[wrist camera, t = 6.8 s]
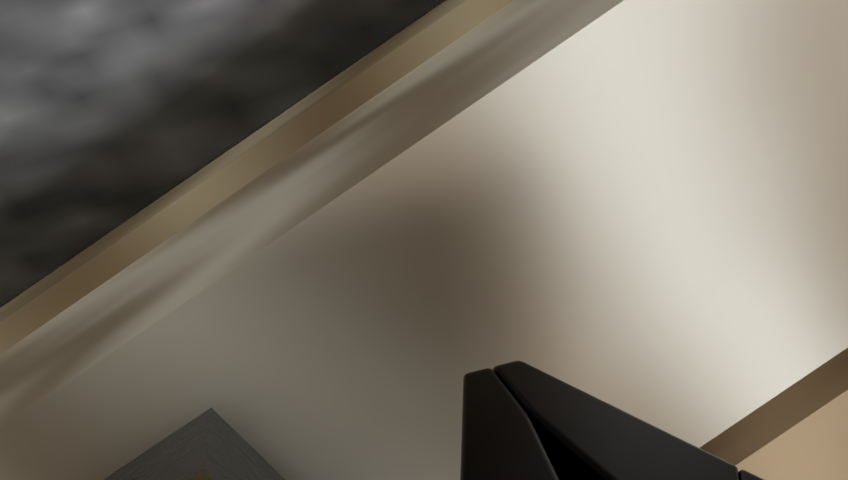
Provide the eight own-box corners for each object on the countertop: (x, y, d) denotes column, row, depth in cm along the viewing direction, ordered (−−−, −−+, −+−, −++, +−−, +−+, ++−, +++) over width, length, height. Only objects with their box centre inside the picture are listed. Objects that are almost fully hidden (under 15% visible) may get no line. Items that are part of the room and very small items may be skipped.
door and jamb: (378, 738, 21) (426, 1057, 15) (-111, 384, 13) (-476, 751, 7) (935, 363, 21) (1229, 524, 14) (788, -237, 13) (1308, -476, 6)
